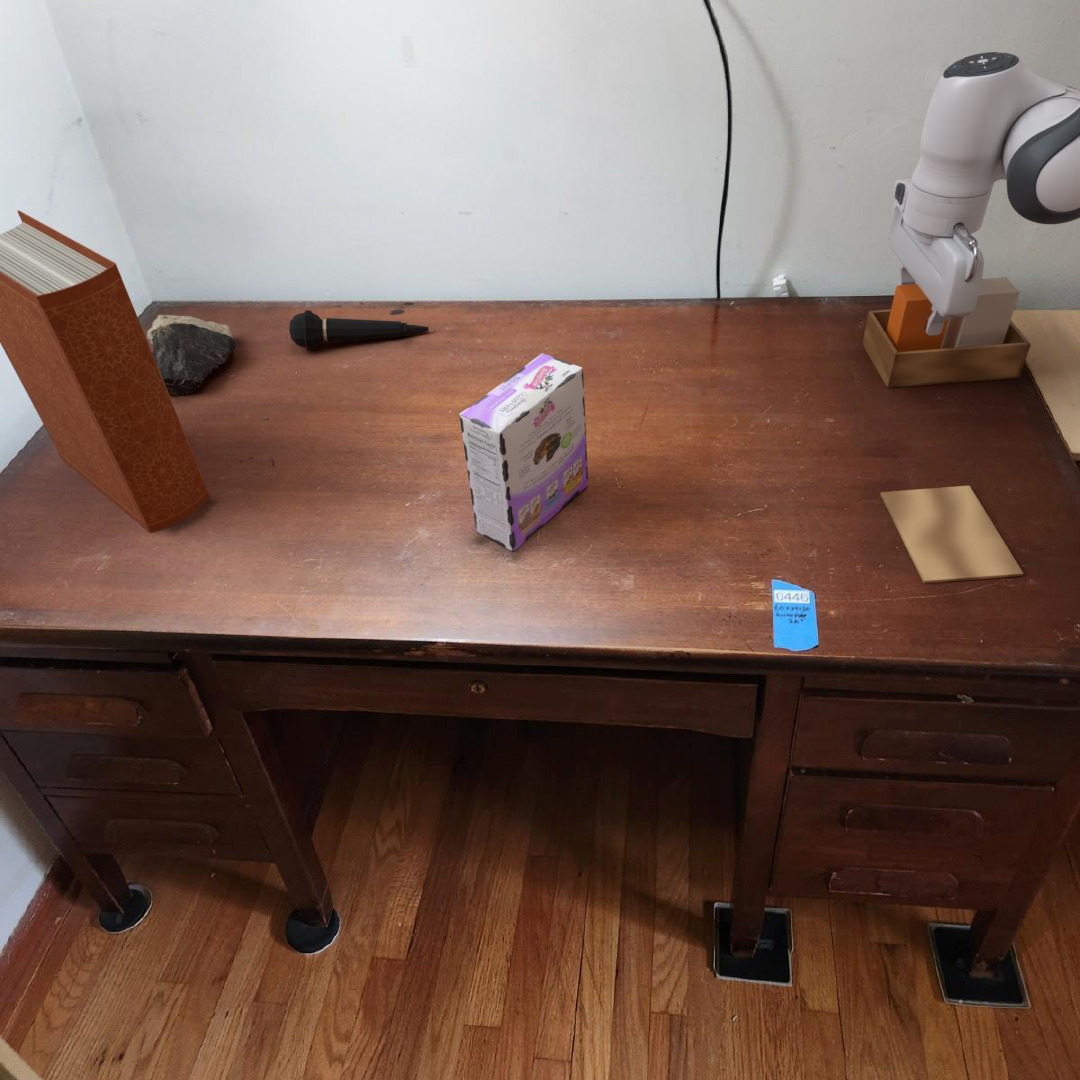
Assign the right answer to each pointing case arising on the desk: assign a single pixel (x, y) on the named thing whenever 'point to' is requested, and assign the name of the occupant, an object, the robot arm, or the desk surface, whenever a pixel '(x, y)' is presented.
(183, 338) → the mineral specimen
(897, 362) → the wooden box
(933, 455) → the desk surface
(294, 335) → the microphone
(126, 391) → the book
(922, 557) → the cork mat
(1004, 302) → the block
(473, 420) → the candy box
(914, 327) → the block
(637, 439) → the desk surface
